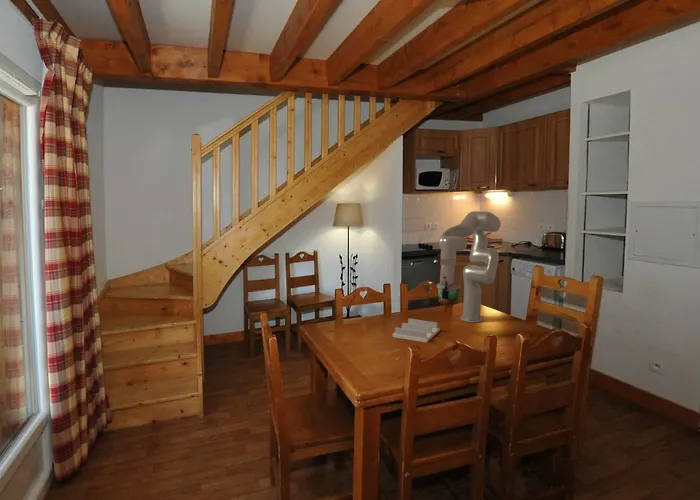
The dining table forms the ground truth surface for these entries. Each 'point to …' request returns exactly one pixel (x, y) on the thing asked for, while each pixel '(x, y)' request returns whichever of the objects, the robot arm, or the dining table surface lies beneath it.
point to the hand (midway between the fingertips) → (446, 296)
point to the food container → (452, 294)
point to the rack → (417, 330)
